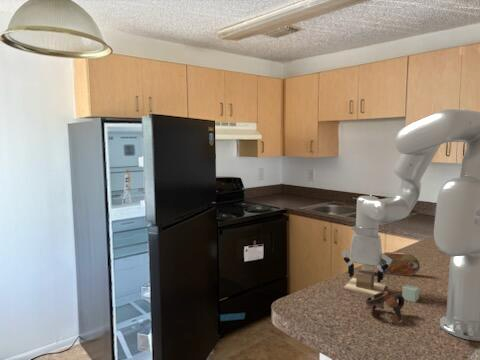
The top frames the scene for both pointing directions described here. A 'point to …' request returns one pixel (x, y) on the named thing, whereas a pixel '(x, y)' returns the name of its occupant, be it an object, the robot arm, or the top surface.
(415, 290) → the sage block
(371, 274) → the walnut block
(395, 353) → the top surface
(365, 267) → the maple block
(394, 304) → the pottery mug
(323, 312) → the top surface
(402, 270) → the tin
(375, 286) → the plate
